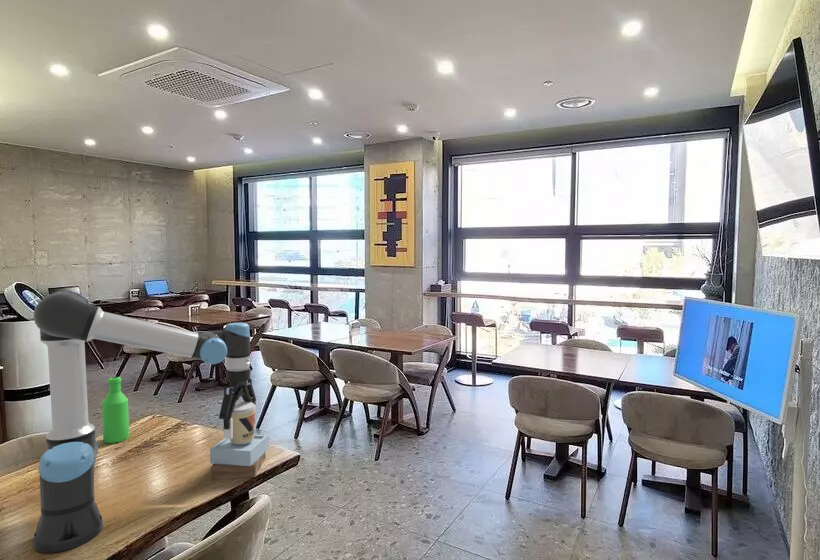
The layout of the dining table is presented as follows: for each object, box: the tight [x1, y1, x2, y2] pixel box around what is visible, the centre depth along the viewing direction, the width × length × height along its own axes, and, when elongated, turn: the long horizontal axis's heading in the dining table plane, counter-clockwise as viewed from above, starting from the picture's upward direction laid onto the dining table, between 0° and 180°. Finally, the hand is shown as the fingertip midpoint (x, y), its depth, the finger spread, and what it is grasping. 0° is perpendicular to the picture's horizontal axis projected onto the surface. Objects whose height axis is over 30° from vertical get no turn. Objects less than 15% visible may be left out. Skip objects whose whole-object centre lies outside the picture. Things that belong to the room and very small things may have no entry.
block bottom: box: [211, 451, 267, 480], centre depth 163 cm, size 14×14×5 cm
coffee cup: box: [230, 401, 256, 444], centre depth 163 cm, size 9×9×12 cm
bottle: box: [101, 376, 130, 444], centre depth 188 cm, size 9×9×25 cm
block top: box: [209, 434, 270, 466], centre depth 163 cm, size 14×14×5 cm
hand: (238, 430), depth 161 cm, fingers open, 13 cm apart
